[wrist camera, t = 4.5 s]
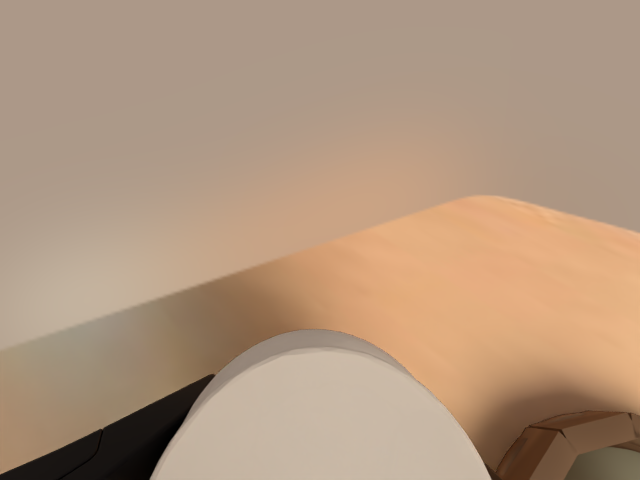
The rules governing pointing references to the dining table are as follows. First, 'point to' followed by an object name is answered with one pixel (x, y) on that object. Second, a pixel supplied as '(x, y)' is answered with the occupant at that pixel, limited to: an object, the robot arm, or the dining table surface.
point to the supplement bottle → (318, 419)
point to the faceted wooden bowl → (576, 448)
